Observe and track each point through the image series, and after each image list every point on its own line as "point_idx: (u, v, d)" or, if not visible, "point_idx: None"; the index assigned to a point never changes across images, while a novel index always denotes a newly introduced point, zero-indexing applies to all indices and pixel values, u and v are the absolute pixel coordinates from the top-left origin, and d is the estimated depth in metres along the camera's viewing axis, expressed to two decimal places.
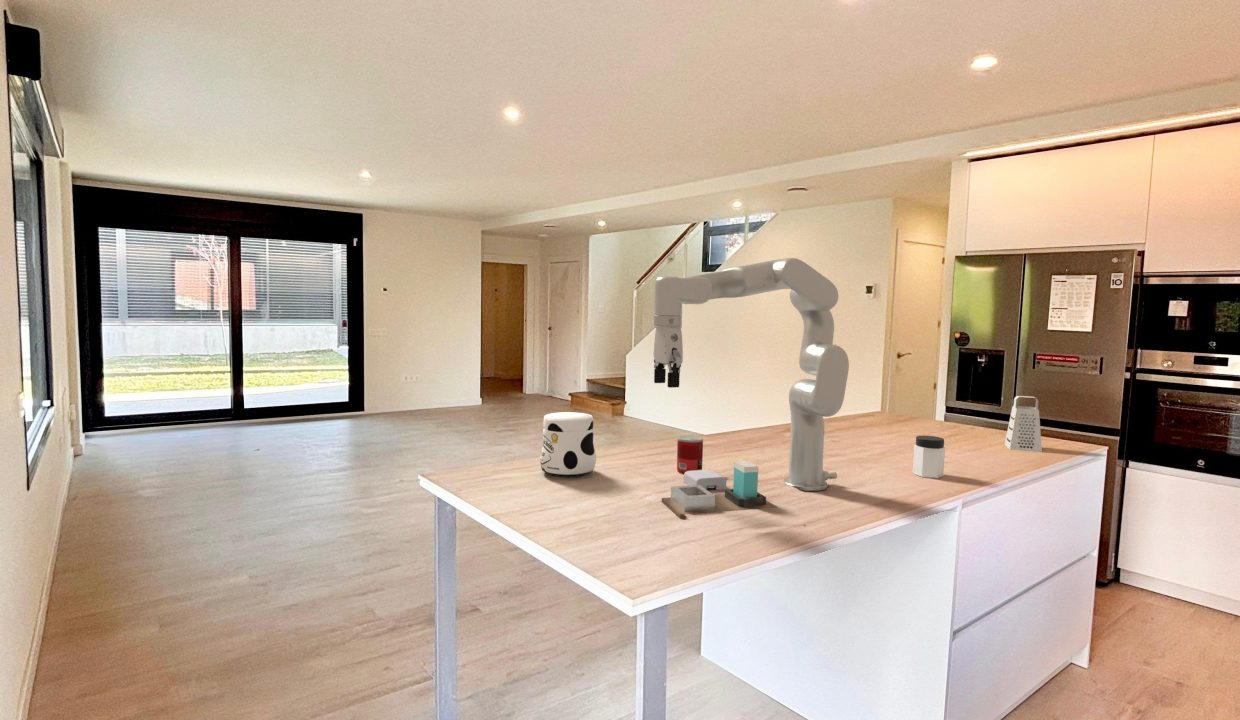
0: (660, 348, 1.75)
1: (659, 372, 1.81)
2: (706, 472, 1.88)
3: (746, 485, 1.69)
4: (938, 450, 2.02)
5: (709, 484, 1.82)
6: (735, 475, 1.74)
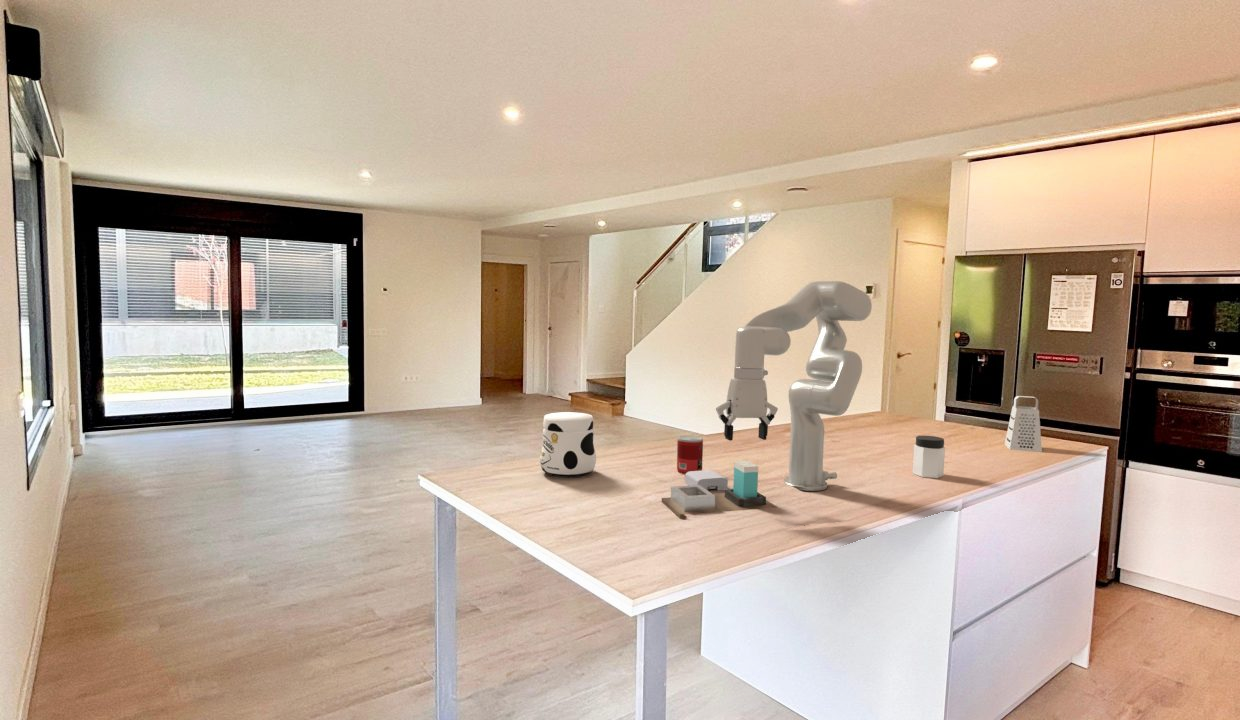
0: (755, 402, 1.68)
1: None
2: (707, 473, 1.87)
3: (746, 485, 1.69)
4: (938, 450, 2.02)
5: (710, 485, 1.81)
6: (735, 475, 1.74)
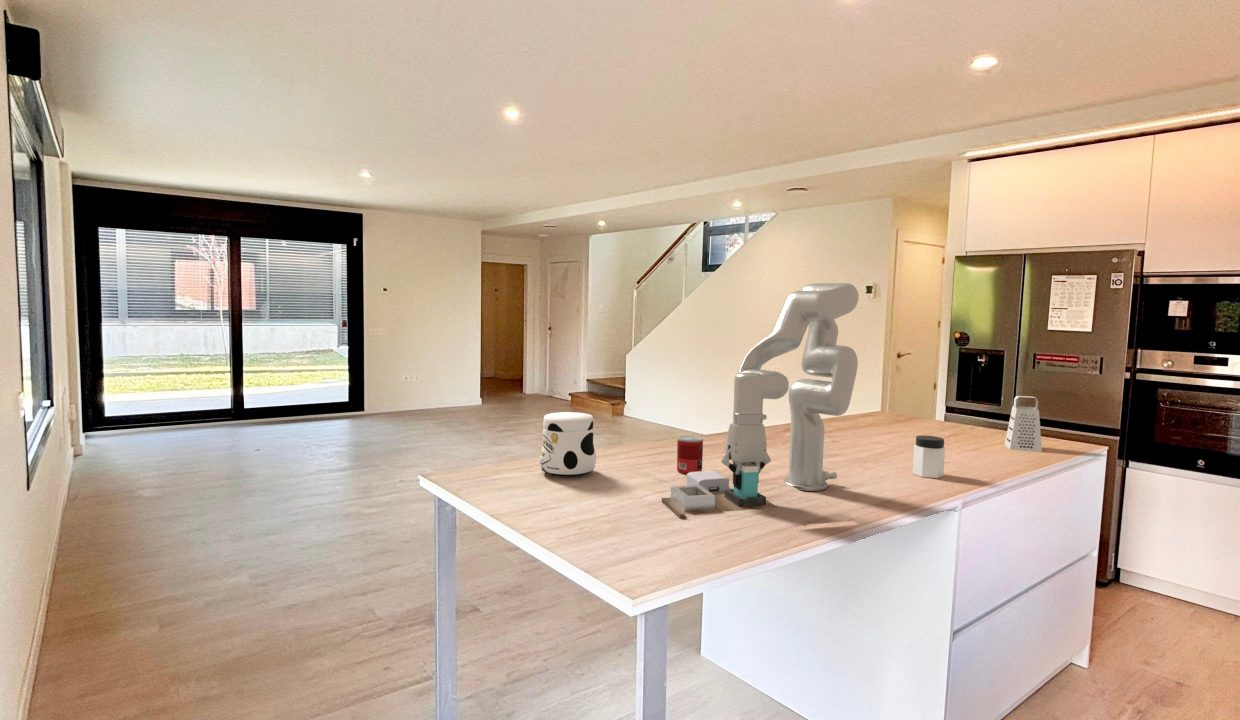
0: (754, 447, 1.69)
1: None
2: (709, 473, 1.87)
3: (746, 485, 1.69)
4: (938, 450, 2.02)
5: (712, 485, 1.81)
6: None
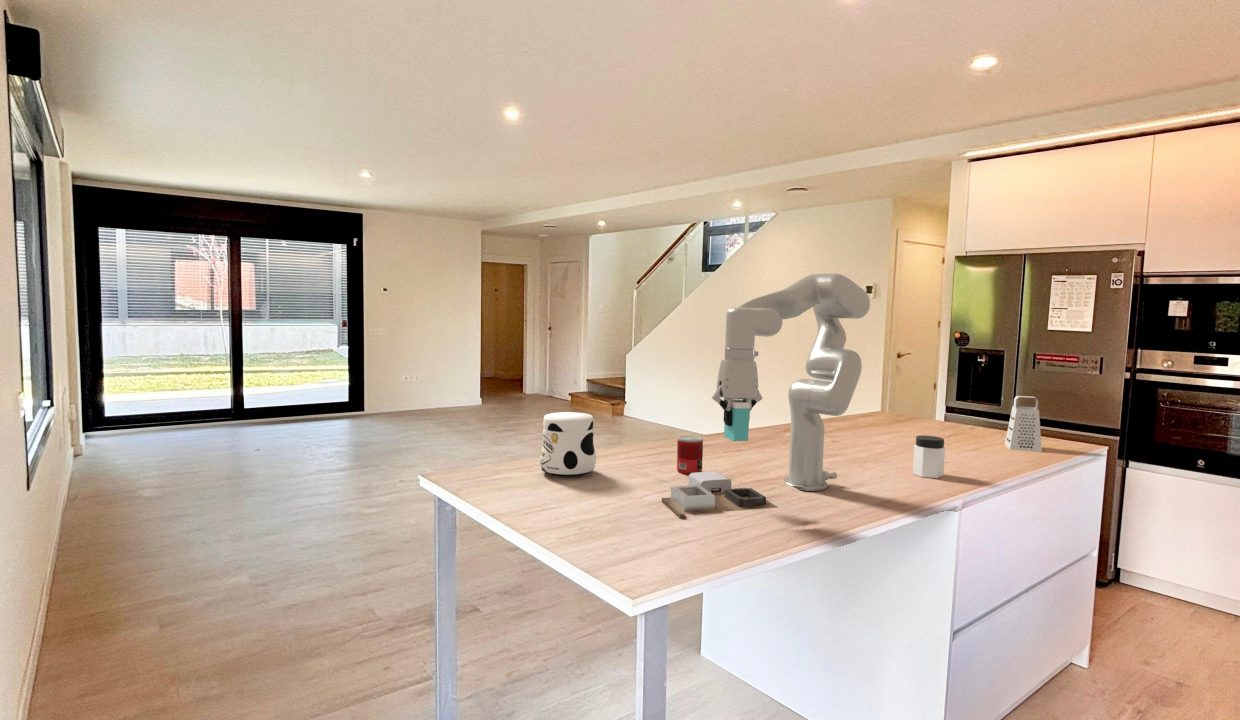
0: (746, 383, 1.67)
1: None
2: (711, 474, 1.86)
3: (737, 422, 1.67)
4: (938, 450, 2.02)
5: (714, 486, 1.80)
6: None
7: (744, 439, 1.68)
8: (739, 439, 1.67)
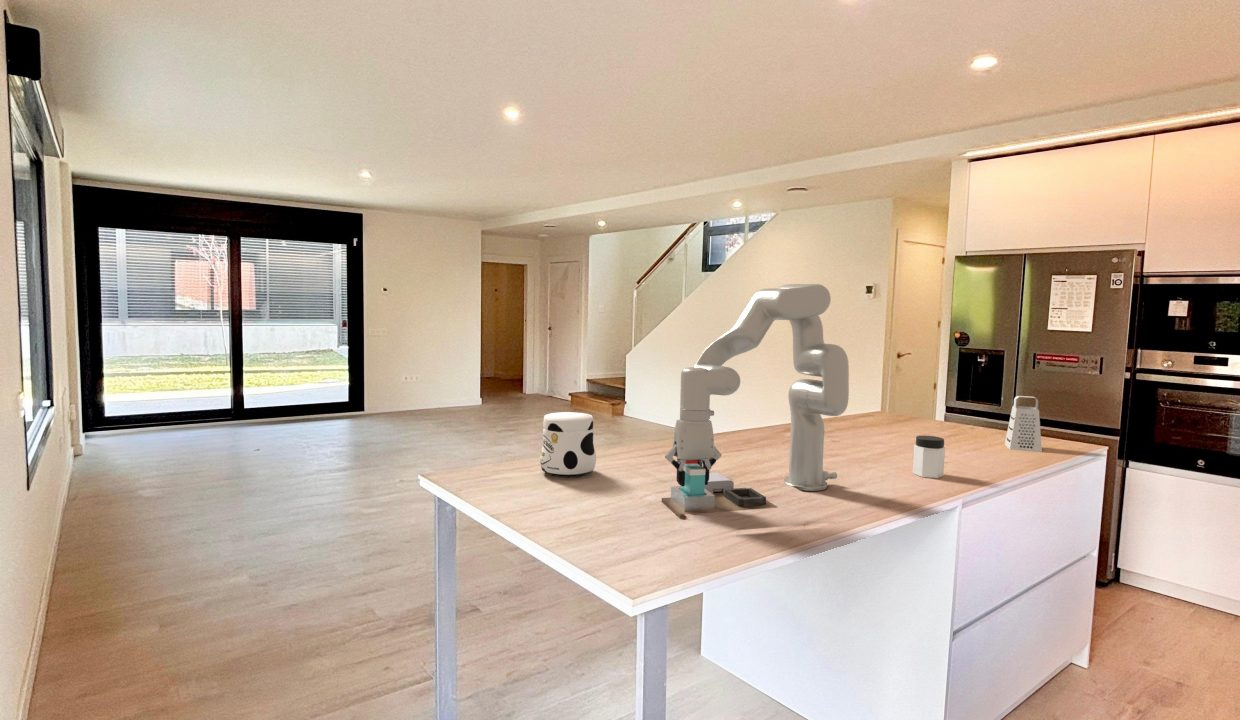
0: (701, 444, 1.65)
1: None
2: (713, 475, 1.85)
3: (692, 488, 1.65)
4: (938, 450, 2.02)
5: (716, 487, 1.79)
6: None
7: None
8: None
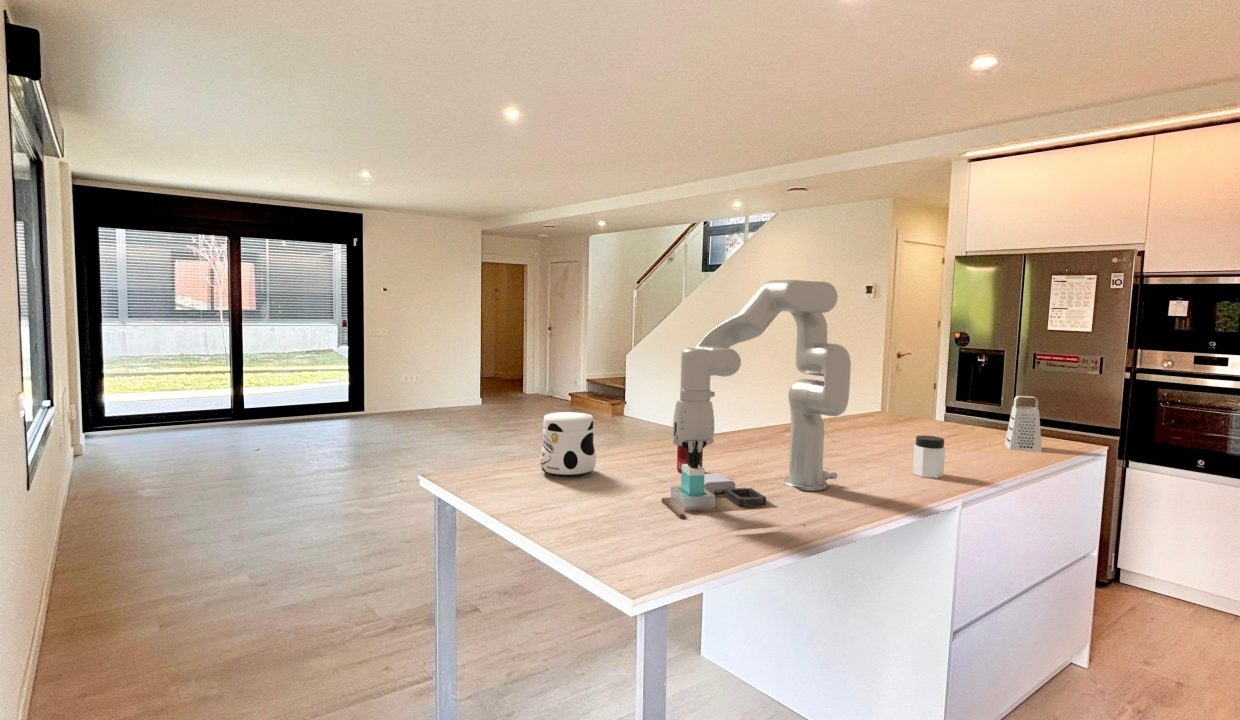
0: (701, 425, 1.65)
1: None
2: (715, 476, 1.84)
3: (692, 489, 1.65)
4: (938, 450, 2.02)
5: (717, 488, 1.78)
6: (682, 478, 1.70)
7: None
8: None
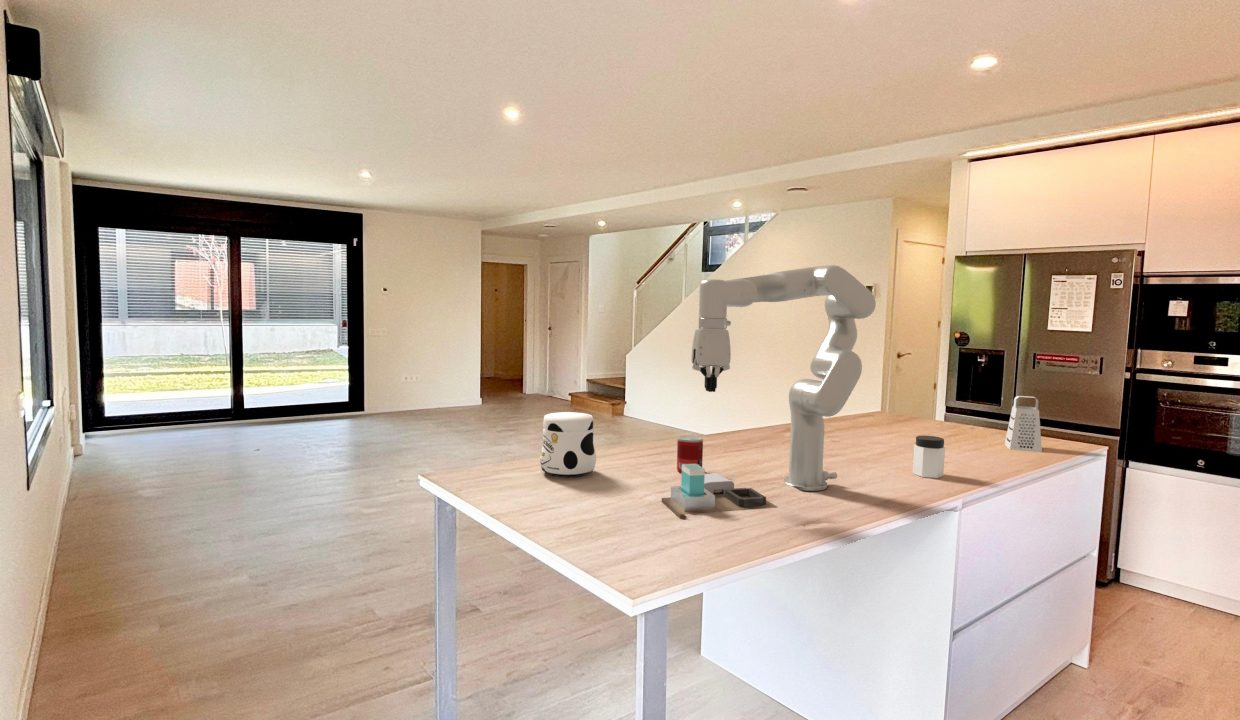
0: (718, 351, 1.76)
1: None
2: (713, 476, 1.84)
3: (692, 489, 1.65)
4: (938, 450, 2.02)
5: (716, 488, 1.78)
6: (682, 478, 1.70)
7: None
8: None
